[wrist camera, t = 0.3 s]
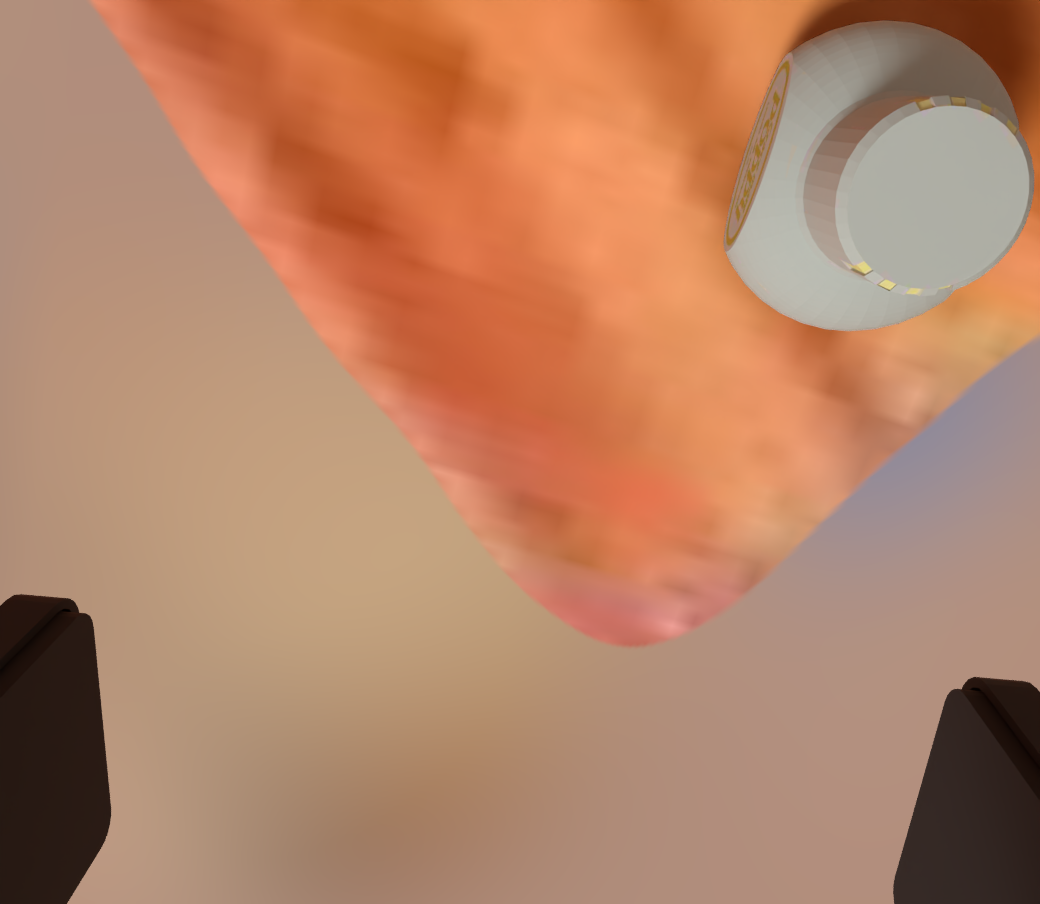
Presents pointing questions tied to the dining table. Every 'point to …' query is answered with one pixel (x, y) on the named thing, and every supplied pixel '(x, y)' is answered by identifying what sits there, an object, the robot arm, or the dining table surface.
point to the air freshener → (877, 177)
